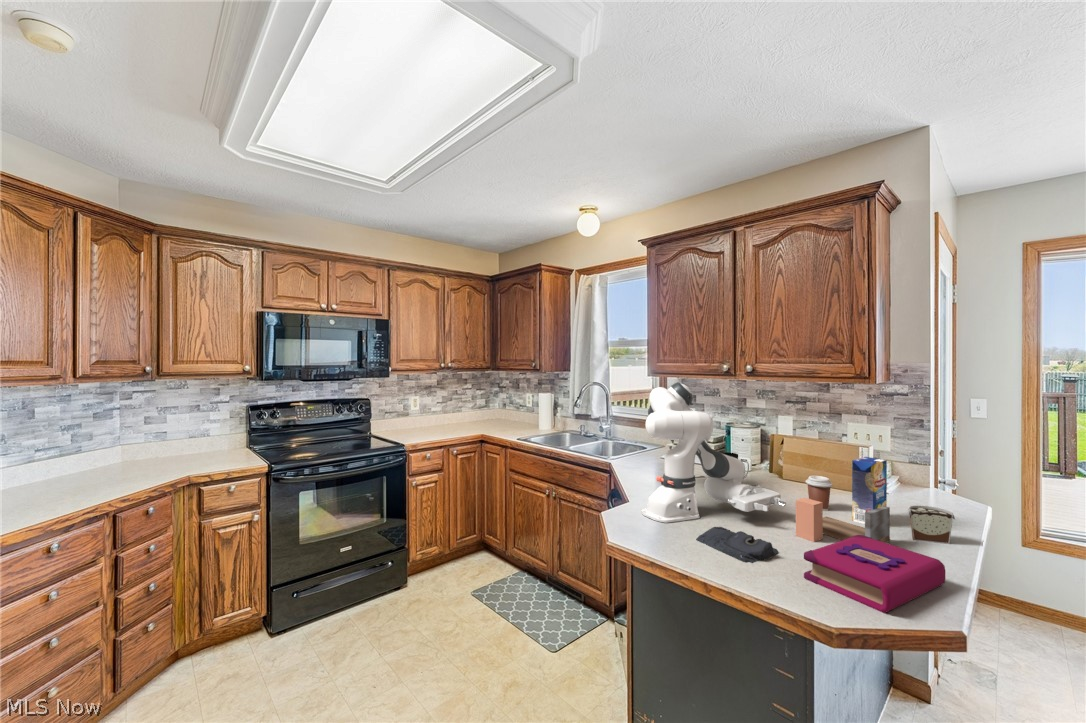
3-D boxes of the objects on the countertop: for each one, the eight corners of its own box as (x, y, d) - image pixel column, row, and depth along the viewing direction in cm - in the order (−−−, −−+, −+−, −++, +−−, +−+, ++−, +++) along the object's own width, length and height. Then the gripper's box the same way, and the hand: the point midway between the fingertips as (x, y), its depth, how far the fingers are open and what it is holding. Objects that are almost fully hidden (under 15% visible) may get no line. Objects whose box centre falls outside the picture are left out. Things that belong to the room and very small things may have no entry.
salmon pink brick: (813, 542, 149) (813, 505, 149) (795, 535, 154) (795, 500, 154) (822, 538, 151) (822, 502, 151) (804, 532, 157) (804, 497, 156)
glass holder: (727, 483, 218) (727, 451, 218) (754, 490, 206) (754, 456, 206) (715, 485, 213) (715, 453, 213) (742, 493, 201) (742, 459, 201)
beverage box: (886, 520, 168) (886, 459, 168) (873, 526, 162) (873, 464, 161) (865, 514, 174) (865, 456, 173) (852, 520, 167) (852, 460, 167)
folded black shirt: (723, 531, 159) (723, 518, 159) (783, 555, 140) (783, 540, 140) (691, 540, 152) (691, 526, 152) (750, 567, 133) (750, 550, 133)
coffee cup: (832, 513, 175) (832, 482, 175) (805, 509, 180) (805, 478, 180) (832, 506, 183) (832, 476, 183) (806, 503, 188) (806, 473, 188)
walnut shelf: (870, 549, 143) (870, 513, 143) (806, 528, 161) (806, 496, 160) (889, 541, 149) (889, 507, 149) (826, 522, 166) (826, 491, 166)
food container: (945, 537, 152) (945, 507, 152) (955, 544, 146) (955, 513, 146) (900, 532, 156) (900, 503, 156) (908, 539, 150) (908, 509, 150)
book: (945, 588, 120) (945, 559, 120) (888, 617, 107) (888, 584, 107) (859, 557, 139) (859, 532, 138) (801, 578, 125) (801, 551, 125)
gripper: (724, 492, 170) (757, 502, 158) (759, 484, 180) (793, 493, 168) (724, 509, 170) (758, 520, 158) (759, 500, 180) (793, 510, 168)
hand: (776, 506), depth 163 cm, fingers open, 8 cm apart
